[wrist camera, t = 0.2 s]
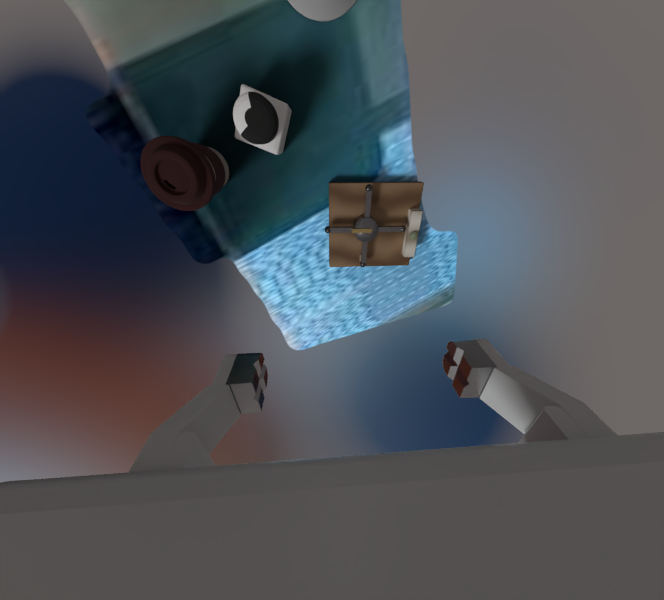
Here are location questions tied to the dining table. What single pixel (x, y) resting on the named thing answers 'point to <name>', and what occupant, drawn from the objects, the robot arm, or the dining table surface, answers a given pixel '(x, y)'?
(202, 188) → the coffee cup
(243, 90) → the medicine bottle
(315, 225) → the dining table surface
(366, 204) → the capstan
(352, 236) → the stand
